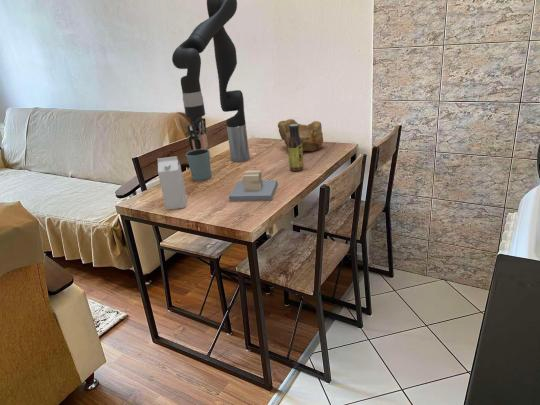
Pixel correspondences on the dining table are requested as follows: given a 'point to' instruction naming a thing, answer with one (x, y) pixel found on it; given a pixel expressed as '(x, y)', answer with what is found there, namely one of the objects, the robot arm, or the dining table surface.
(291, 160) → the sauce bottle
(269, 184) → the base board
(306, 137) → the rough brown rock
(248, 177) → the beech cube
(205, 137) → the terracotta block
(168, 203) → the milk carton
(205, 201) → the dining table surface
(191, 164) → the teal cup
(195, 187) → the dining table surface
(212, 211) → the dining table surface
